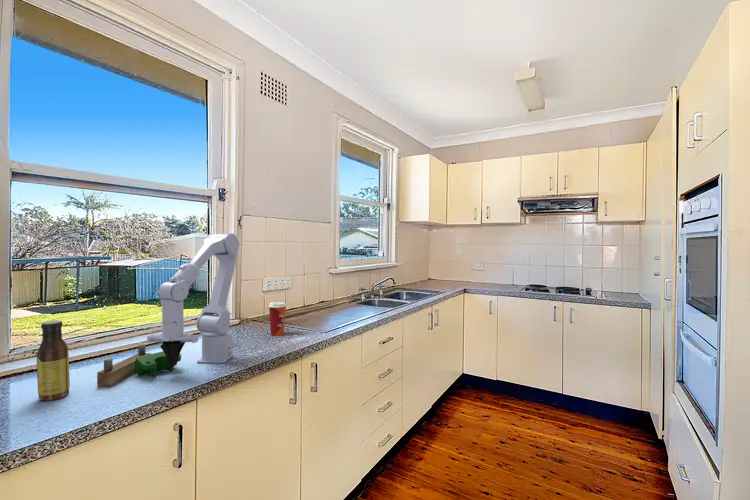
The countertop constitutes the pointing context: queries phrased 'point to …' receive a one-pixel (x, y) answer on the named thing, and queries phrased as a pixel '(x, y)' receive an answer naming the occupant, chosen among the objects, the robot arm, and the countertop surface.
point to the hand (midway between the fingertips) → (173, 365)
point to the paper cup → (277, 318)
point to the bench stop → (118, 369)
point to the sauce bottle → (52, 363)
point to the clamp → (152, 364)
